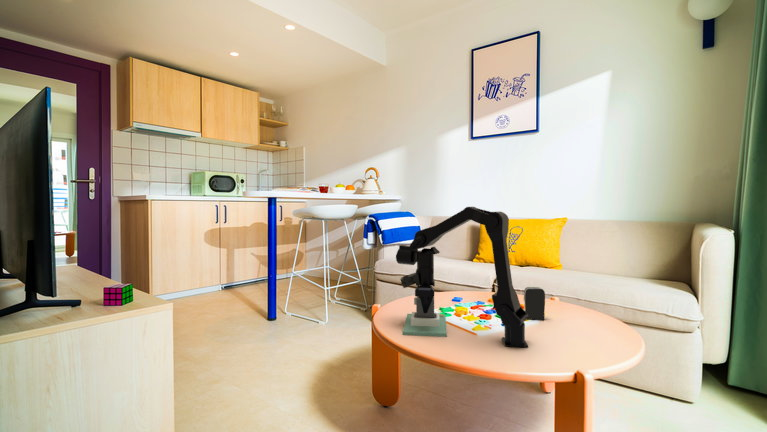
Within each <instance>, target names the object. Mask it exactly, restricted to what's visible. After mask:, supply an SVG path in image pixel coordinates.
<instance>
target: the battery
mask: <svg viewBox="0 0 767 432" xmlns="http://www.w3.org/2000/svg"><path fill="white" fill-rule="evenodd" d="M523 302H524V311H525V312H526V313H527V314H528V316H527V319H526V320H537V321H539V320H540V321H543V320H545V310H546V308H545V307H546V292H545V290H544V288H541V287H539V286H536V287H535V286H527V287H525V288H524V290H523Z"/></svg>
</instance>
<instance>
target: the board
mask: <svg viewBox="0 0 767 432" xmlns="http://www.w3.org/2000/svg"><path fill="white" fill-rule="evenodd" d="M446 318H447V317H446V314H442V313H440V312H434V318H416V311H412V312H411V313H407V314H406V317H405V321H404V325H403V329H402V335H403V336H421V337H423V336H424V337H442V338H443V337H444V338H447V337H448V336H447V335H448V334H447V333H448V332H447V321H446V320H447V319H446Z"/></svg>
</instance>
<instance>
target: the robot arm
mask: <svg viewBox="0 0 767 432" xmlns="http://www.w3.org/2000/svg"><path fill="white" fill-rule="evenodd" d="M470 221H472V222H475V223H478V224H480V225H483V226H484V228H485V231H486V234H487V236H488V238H489V240H490V242H491V247H492V255H493V263H494V270H495V278H496V284H497V285H496V286H497V287H496V288H497V290H496V292H494V294H492V295H491V300H492V302H493V307H492V309H493V310H495V313H496V315H497V316H498V317H499V319H500V320H501V324H502V325H503V326H504V336H501V341H502V342H503V345H504V346H505V347H511V348H512V347H513V348H529V344H528V343H527V342H526V339H525V338H526V337H525V336H526V335H525V334H526V333H525V332H526V329H525V327H526V324H525V322H526V321H527V320H528V319H527V316H528V314H527V313H526V312H525V309H524V308H522V306H521V302H520V299H519V297H518V294H517V292H516V290H515V288H514V285H513V280H512V272H511V263H510V257H509V256H510V255H509V250H508V248H509V247H508V243H507V242H508V241H507V240H508V234H509V221H510V220H509V216H508V215H507V214H506V213H505V212H503V211H490V210H487V209H486V210H485V209H481V208H477V207H476V206H466V207H465V208H463V209H461V210H460V211H458V212H457V213H455V214H454V215H452V216H450V217H448V218H447V219H445V220H443V221H441V222H440V223H438V224H436V225H433V226H430V227H426V228H423V229H420V230H418V231H416V232H415V233H414V239H413V240H412V242H411V243H410V244H409V245H405V244H400V245H399V247H398V248H397V251H396V254H395V260H396V262H397V264H399V265H408V266H414V265H416V270H415V272H413V273H410V274H406V275H403V276H402V277H400V279H399V281H400V283H401V284H400V285H402V287H403V289H406V288H408V287H410V286H413V285H415V286H416V287H415V289H414V296H415V297H419V298H420V299H421V303H422V307H423V312H424V313H427V312H428V309H429V307H430V304H431V302H432V299H433V297H434V298H435V288H434V287H435V281H436V280H435V279H434V278H435V276H434V275H435V270H434V267H435V266H434V260H435V258H434V255H438V254H440V253H441V251H440V250H439V249H438V248H436V246H434V245H435V244H436V243H437V242H438V241H440V240H441V239H442V237H443V236H445V235H446V234H448V233H450V232H451V231H453V230H455V229H458V228H459V227H461V226H462V225H463V226H464V224H466V223H468V222H470ZM426 247H427V248H426ZM428 247H430V248H428ZM419 249H421V250H419Z"/></svg>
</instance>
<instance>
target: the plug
mask: <svg viewBox="0 0 767 432" xmlns="http://www.w3.org/2000/svg"><path fill="white" fill-rule="evenodd" d="M413 300H414V301H413V302H414V303H413V305H414V306H415V305H416V306H415V307H416V310H415V312H416V318H434V313H435V296H434V297H433V299H432V302H431V304H430V307H429V309H428V312H427V313H424V312H423V307H422V303H421V299H420V298H419V297H416V296H415V297H414V299H413Z"/></svg>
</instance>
